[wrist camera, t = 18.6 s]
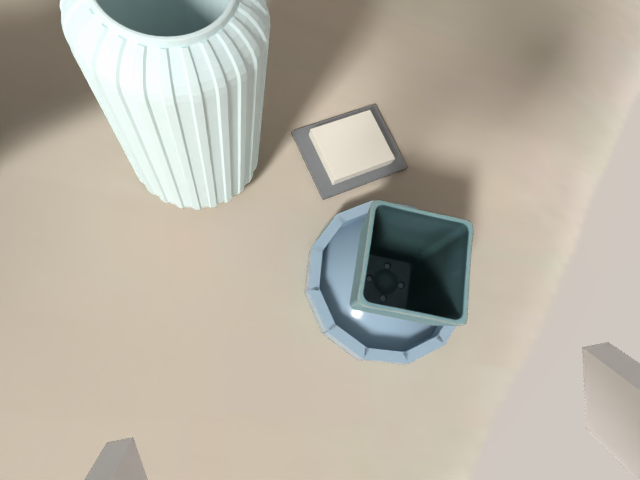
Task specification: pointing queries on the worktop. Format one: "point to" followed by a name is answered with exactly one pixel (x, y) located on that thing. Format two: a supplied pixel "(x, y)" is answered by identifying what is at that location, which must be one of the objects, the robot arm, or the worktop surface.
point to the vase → (178, 88)
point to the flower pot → (413, 265)
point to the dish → (352, 325)
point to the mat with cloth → (348, 151)
